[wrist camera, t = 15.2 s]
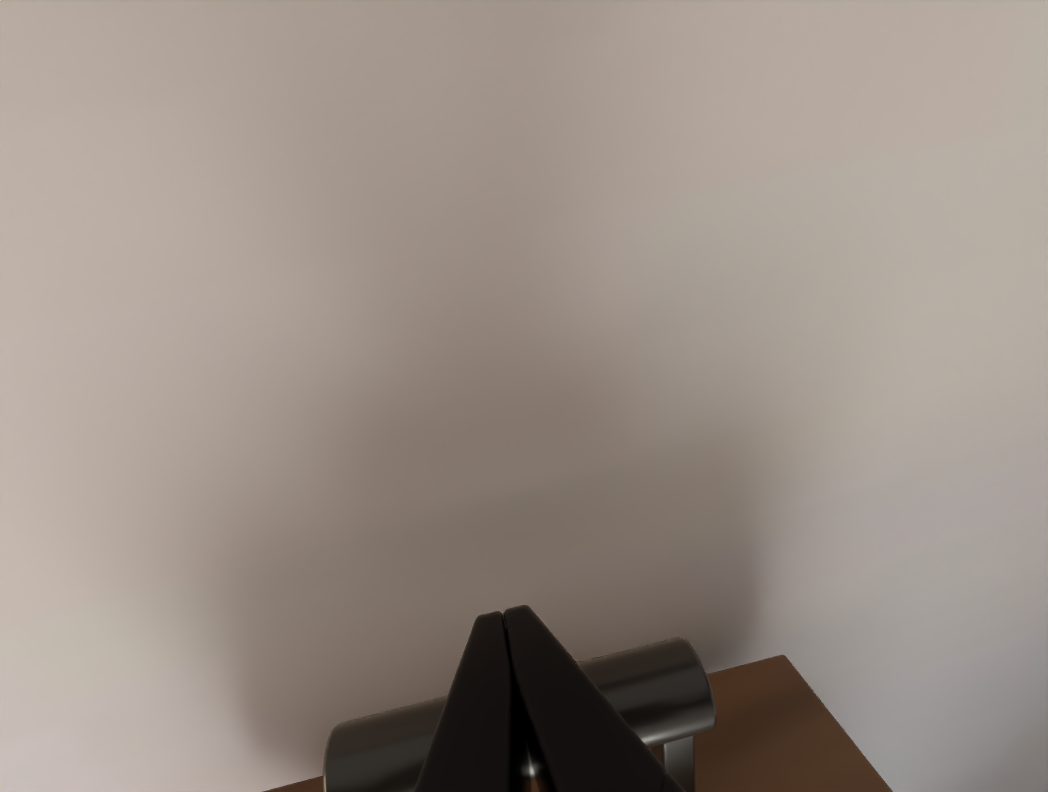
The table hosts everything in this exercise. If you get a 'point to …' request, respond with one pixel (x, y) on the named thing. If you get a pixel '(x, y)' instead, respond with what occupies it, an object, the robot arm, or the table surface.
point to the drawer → (648, 729)
